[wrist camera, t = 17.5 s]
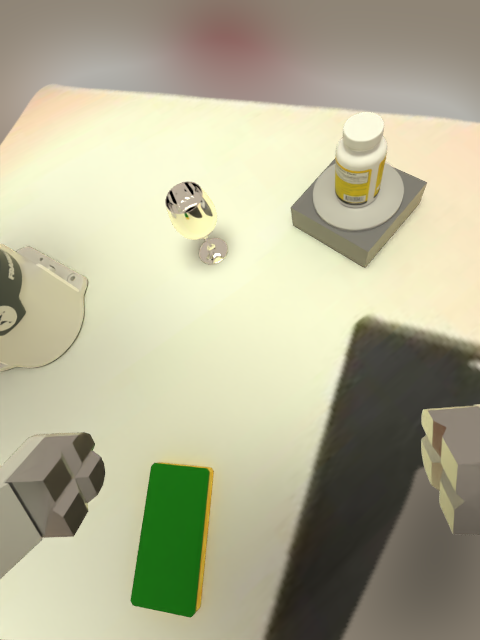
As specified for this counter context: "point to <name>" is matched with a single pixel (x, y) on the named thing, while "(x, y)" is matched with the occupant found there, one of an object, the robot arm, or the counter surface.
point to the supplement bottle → (360, 160)
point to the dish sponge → (173, 539)
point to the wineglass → (195, 219)
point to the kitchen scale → (357, 213)
